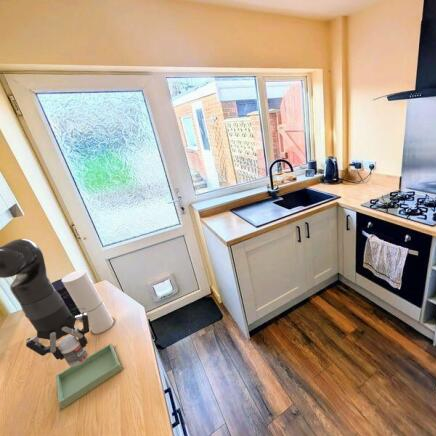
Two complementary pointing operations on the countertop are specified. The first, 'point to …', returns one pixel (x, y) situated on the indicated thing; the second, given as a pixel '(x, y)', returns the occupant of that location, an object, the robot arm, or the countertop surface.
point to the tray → (86, 375)
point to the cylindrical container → (88, 300)
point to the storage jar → (66, 297)
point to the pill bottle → (72, 351)
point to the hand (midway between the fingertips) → (73, 351)
